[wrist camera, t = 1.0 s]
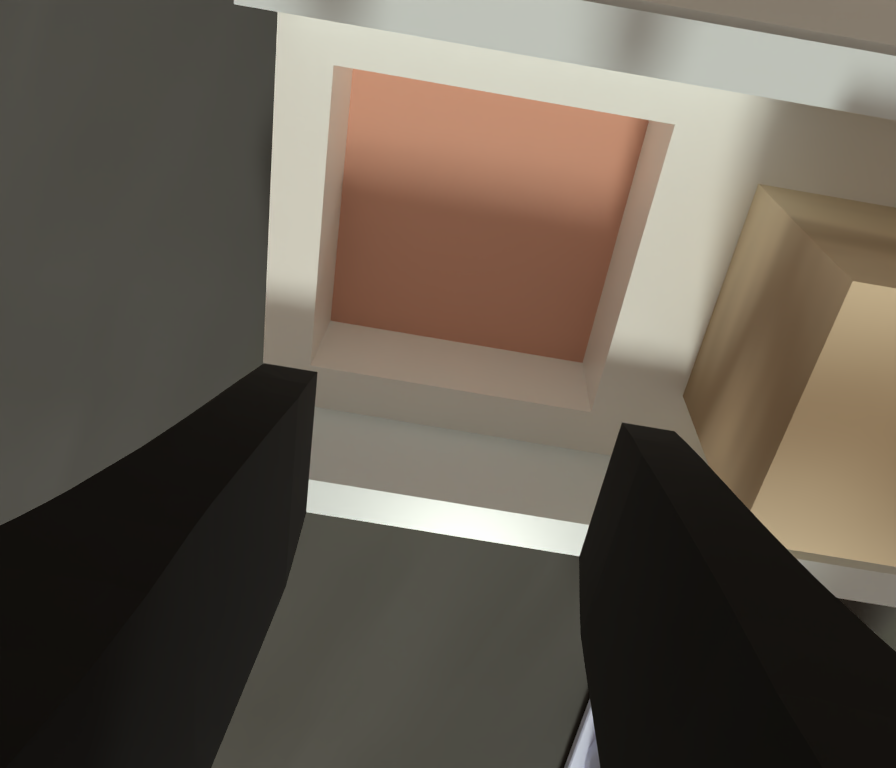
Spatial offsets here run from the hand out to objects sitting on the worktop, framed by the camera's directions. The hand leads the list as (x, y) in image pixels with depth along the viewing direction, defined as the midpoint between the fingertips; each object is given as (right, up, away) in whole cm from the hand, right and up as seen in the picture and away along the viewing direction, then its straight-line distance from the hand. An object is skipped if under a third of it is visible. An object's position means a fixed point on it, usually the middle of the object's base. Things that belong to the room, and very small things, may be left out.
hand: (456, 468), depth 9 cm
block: (+7, +2, +6) cm, 10 cm away
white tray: (+7, +4, +8) cm, 12 cm away
